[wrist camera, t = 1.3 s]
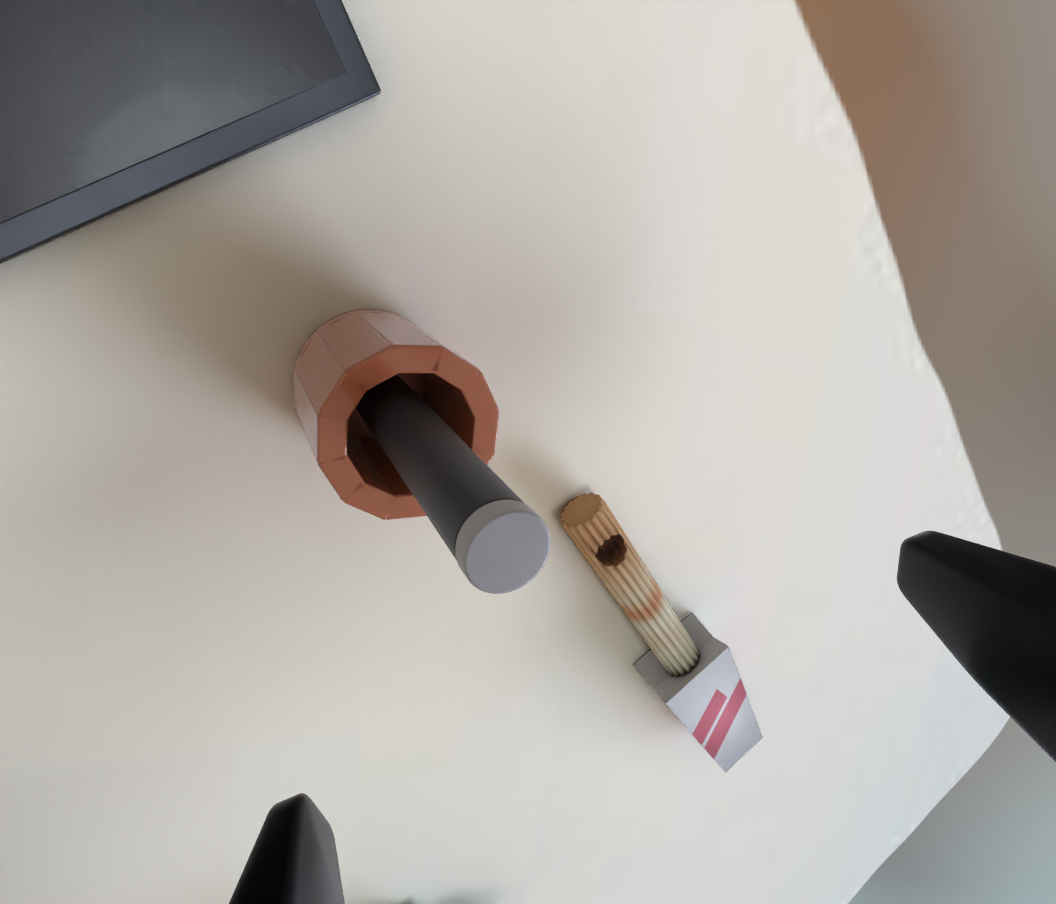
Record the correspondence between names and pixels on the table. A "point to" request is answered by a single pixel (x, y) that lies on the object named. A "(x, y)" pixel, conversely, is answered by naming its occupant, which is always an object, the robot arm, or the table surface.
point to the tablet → (154, 97)
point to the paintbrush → (668, 639)
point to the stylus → (457, 491)
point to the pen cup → (360, 364)
